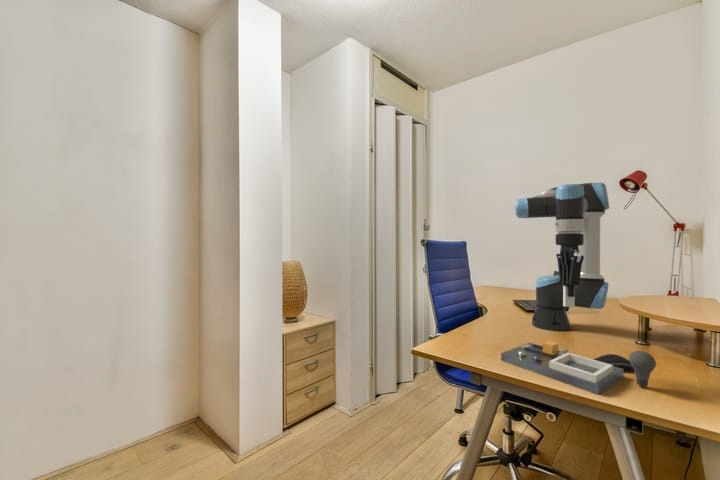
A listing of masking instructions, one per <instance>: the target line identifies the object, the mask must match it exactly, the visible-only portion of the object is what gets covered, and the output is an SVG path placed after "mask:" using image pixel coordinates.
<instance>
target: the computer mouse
mask: <svg viewBox="0 0 720 480" xmlns="http://www.w3.org/2000/svg"><path fill="white" fill-rule="evenodd" d="M592 360H596V361H600V362H603V363H607V364H610V365H613V366H614V367H618V368H622V369H624V373H635V371H634V369H633V367H632V365H631V364H630V361H629V359H627V358H625V357H623V356H621V355H619V354H614V353H613V354H611V353H609V354H603V355H601V356H598V357H596V358H593V359H592Z"/></svg>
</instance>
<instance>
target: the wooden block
mask: <svg viewBox="0 0 720 480" xmlns="http://www.w3.org/2000/svg"><path fill="white" fill-rule="evenodd" d="M542 346H543V352H544V353H548V354H551V355H556V354H558V351H559V342H555V341H552V340H547V341H545V342H542Z"/></svg>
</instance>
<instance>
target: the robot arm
mask: <svg viewBox="0 0 720 480" xmlns="http://www.w3.org/2000/svg"><path fill="white" fill-rule="evenodd" d="M608 196H609V195H608V190H607V186H606V184H605V183H604V182H588V183H587V182H586V183H570V184H562V185H561V184H560V185H559V186H555V187H552V188H549V189H547V190H544V191H542V192H541V193H540V194H539V195H536V196H533V197H523V198H518V199H517V200H516V201H515V203H514V212H515V215H516V217H517V218H518V219H532V218H533V219H536V218H537V219H538V218H555V223H554V226H555V233H556V234H555V245H557V246H560V249H559V253H556V254H555V256H556V259H557V267H558V275H547V276H545V275H544V276H540V277H538V278H537V279H536V284H535V296H536V297H535V303H536V304H535V310H534V312H533V315H532V318H531V325H532V326H534V327H535V328H539V329H543V330H548V331H558V332H562V331H568V330H570V329H571V322H570V320H569V317H568V314H567V312H566V307H567V308H583V309H584V308H585V309H589V310H590V309H593V310H594V309H595V310H602V309H603V308H605V305H606V301H607V296H608V291H609V282H607V281H605V277H604V276H603V275H602V274H601V218H602V217H603V216H604V215H605V214H606V210H609V209H610V202H609V201H610V200H609V197H608Z"/></svg>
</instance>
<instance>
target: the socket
mask: <svg viewBox="0 0 720 480" xmlns="http://www.w3.org/2000/svg"><path fill="white" fill-rule="evenodd" d="M568 361H573V362H577V363H580V364H583V365H587V366H590V367H593V368H597V369H600V370H598V371H597V372H595V373H590V372H587V371H583V370H580V369H577V368H574V367H571V366H567V365H564V363H566V362H568ZM549 368H552V369H555V370H558V371H561V372H564V373H567V374H570V375H573V376H576V377H579V378H582V379H585V380H588V381H591V382H594V383H597V382H598V381H600V380H602V379H603V378H605V377H606V376H608V375H609V374H611V373H612V372H613V365H610V364H607V363H603V362H600V361H596V360H593V359H592V358H588V357H584V356H581V355H577V354H574V353H570V352H569V353H566V354H564V355H561V356H559V357H557V358H555V359H553V360H551V361H549Z"/></svg>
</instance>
